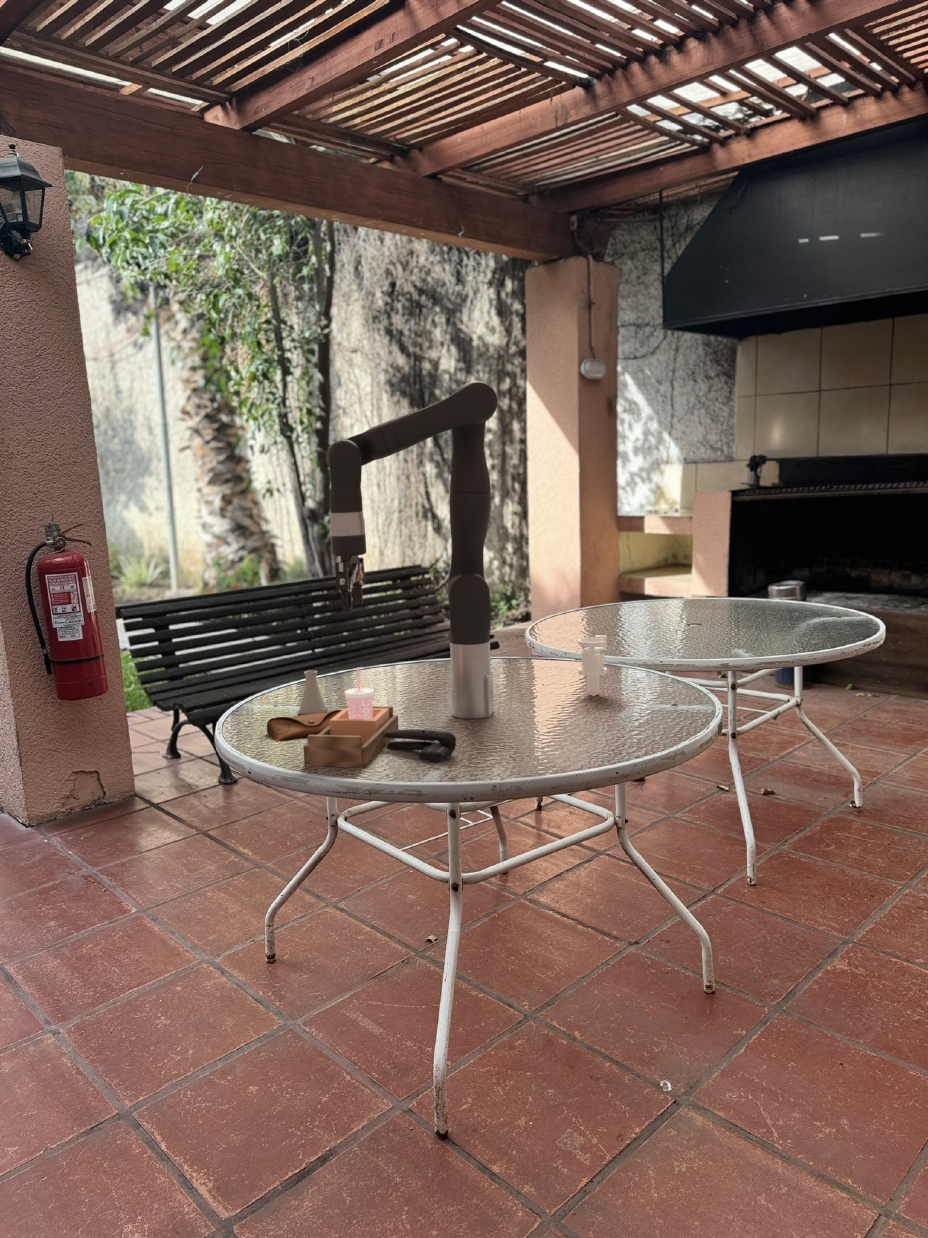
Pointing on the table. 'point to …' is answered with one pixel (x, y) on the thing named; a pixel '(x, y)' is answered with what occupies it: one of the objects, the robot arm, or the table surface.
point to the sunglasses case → (299, 725)
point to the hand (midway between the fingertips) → (352, 606)
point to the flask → (312, 696)
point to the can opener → (424, 743)
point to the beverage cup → (360, 701)
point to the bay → (348, 746)
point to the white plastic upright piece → (593, 660)
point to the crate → (358, 724)
